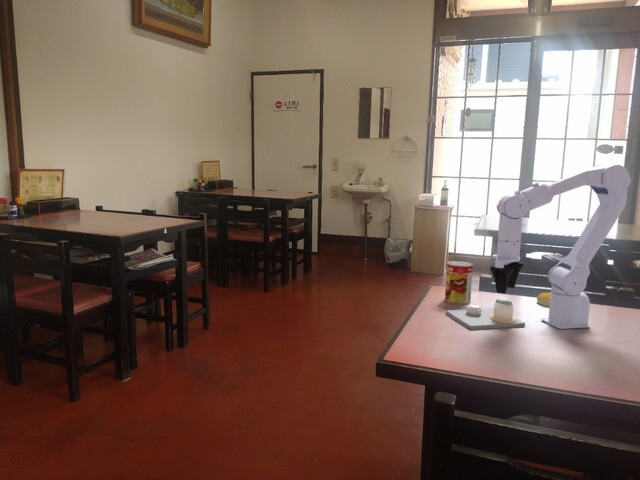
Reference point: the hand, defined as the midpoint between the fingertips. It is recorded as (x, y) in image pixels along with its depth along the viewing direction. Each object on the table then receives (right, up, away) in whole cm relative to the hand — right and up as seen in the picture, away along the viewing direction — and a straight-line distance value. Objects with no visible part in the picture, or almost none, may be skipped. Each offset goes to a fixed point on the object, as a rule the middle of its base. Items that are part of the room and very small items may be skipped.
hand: (505, 290), depth 134 cm
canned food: (-7, -6, +23) cm, 25 cm away
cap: (0, -8, +1) cm, 8 cm away
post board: (-5, -9, +3) cm, 10 cm away
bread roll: (+23, -7, +21) cm, 32 cm away
